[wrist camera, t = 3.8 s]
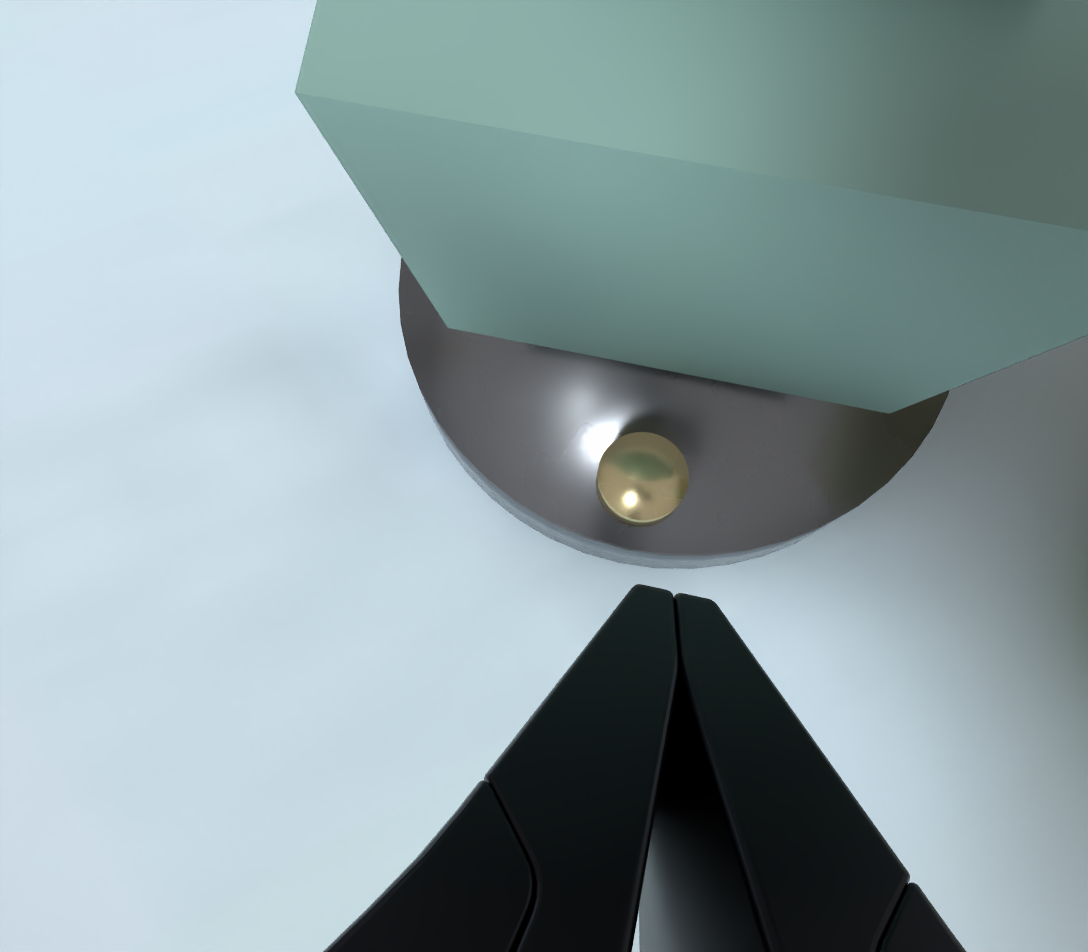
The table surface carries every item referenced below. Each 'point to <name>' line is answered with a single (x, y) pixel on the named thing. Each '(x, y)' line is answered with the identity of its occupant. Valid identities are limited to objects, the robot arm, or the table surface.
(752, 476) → the dark grey disc
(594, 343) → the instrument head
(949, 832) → the table surface
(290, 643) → the table surface
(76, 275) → the table surface
